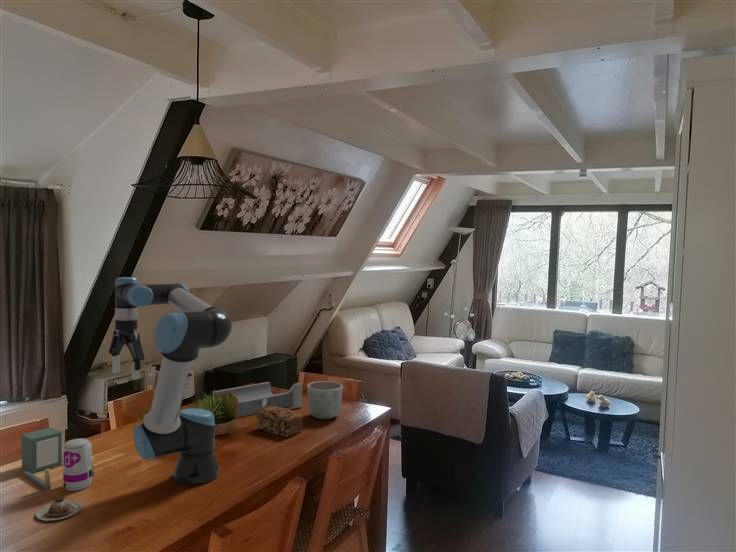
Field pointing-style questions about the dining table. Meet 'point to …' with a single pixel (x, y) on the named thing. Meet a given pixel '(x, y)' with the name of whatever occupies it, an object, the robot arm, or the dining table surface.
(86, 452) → the supplement can
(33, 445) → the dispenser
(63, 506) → the pastry
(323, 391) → the planter
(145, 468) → the dining table surface
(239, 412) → the grey channel bracket
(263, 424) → the bread
